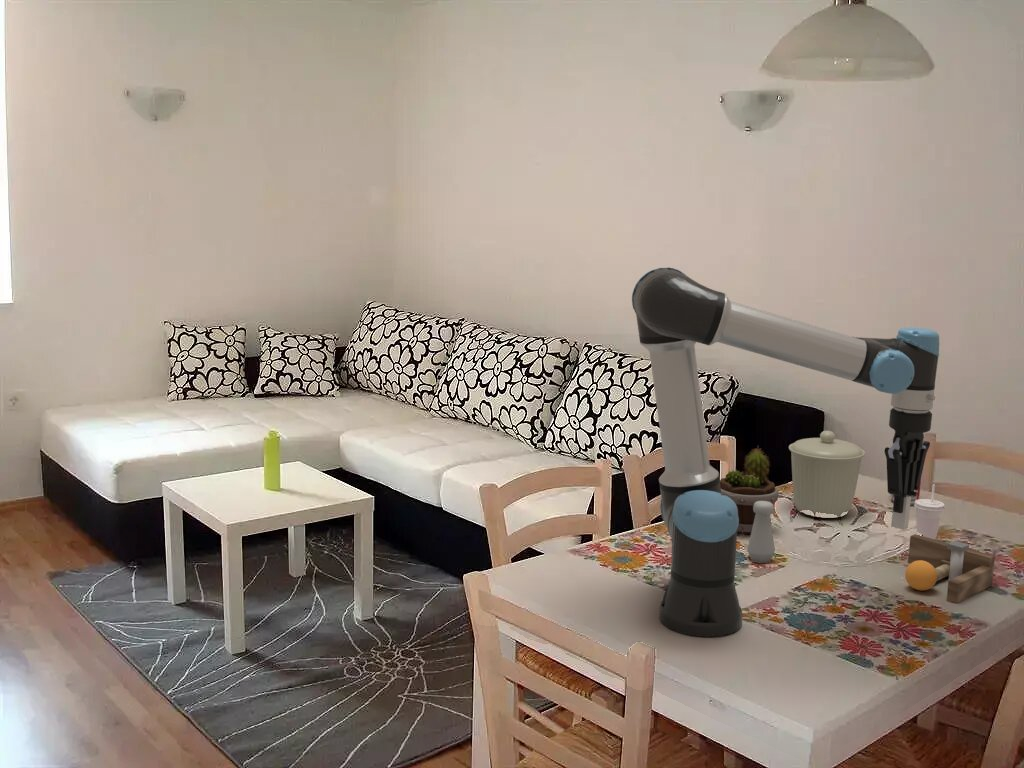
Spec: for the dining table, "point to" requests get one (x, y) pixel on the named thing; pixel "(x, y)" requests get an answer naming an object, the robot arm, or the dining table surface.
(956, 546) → the grey pin
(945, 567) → the maple pin
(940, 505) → the smoothie
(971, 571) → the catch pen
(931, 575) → the ball
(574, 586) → the dining table surface
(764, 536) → the salt shaker
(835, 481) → the canister
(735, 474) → the flowerpot
